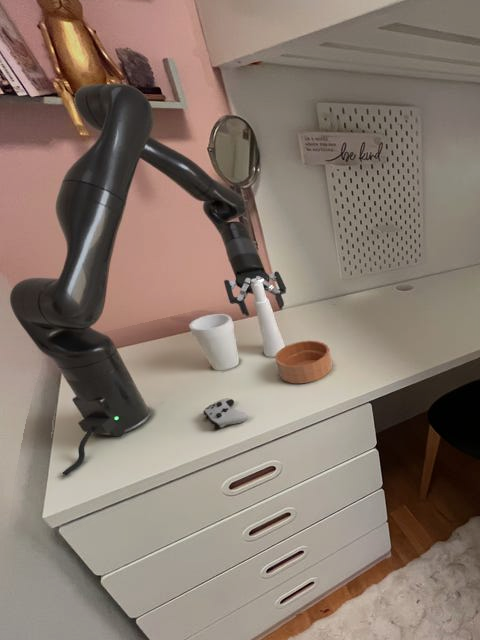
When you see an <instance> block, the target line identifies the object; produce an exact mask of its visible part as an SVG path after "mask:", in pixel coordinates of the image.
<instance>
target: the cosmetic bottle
mask: <svg viewBox="0 0 480 640" xmlns="http://www.w3.org/2000/svg"><path fill="white" fill-rule="evenodd" d="M260 281H261V280H260V279H258V278H256V279H252V280H251V282H252V283H251V287H252V291H253V294H252V295H253V297H254V301H253V303H254V308H255V313H256V316H257V320H258V324H259V327H260V334H261V339H262V345H263V353H264V356H265V357H270V358H275V356H276V354H277V352H279V351H280V350H281V349H282V348H284V347H286V346H287V345H286V344H285V342H284V339H283V337H282V334H281V331H280V328H279V325H278V323H277V321H276V320H277V319H276V317H275V314H274V311H273V308H272V305H271V303H270V300H269V298H267V294H266V291H265V290H264V287H263V283H262V282H260Z"/></svg>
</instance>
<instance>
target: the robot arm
mask: <svg viewBox="0 0 480 640" xmlns="http://www.w3.org/2000/svg"><path fill="white" fill-rule="evenodd" d="M74 103H75V107H76V109H77V111H78V114H79V115H80V116H81V118H82V119H83V120H84V122H86V124H87V125H89V126H90V127H91V128H92V129H94V131H96V132H98V133H99V136H98V138H97V139H96V140H95V142H94V143H93V145H91V146H90V148H88V150H86V151H85V152H84V153H83V154H82V155H81V156H80V157H79V158H78V159H77V160H76V161H75V162H74V163H73V164H72V165H71V167H69V169H68V170H67V172H66V173H65V175H64V176H63V179H62V181H61V184H60V186H59V190H58V193H57V196H56V202H55V214H56V215H55V216H56V218H57V221H58V224H59V226H60V229H61V232H62V234H63V236H64V240H65V243H66V256H65V261H64V264H63V268H62V270H61V273H60V274H59V277H58V278H55V277H53V278H52V277H29V278H26V279H23V280H20V281H19V282H17V283H15V284H14V286H13V288H12V289H11V291H10V293H9V294H10V295H9V303H10V308H11V310H12V312H13V314H14V317H15V318H16V319H17V322H18V323H19V324H20V325H21V327H22V328H23V330H24V331H25V332H26V334H27V335H28V336H29V338H30V339H31V340H32V342H33V343H34V344H35V346H36V347H37V349H39V351H40V352H42V354H44V355H45V356H46V357H48V358H50V359H51V360H52V361H53V362H54V364H55V366H56V367H57V368H58V370H59V372H60V373H61V375H62V376H63V377H64V379H65V381H66V382H67V384H68V386H69V387H70V389H71V390H72V392H73V394H74V395H75V396H74V397H73V398H72V402H73V404H74V405H75V406H76V409H77V410H78V412H79V413H80V414H81V416H82V417H83V418H82V419H81V420H80V421H78V422H77V424H78V425H79V427H80V428H81V430H82V432H84V433H85V434H84V436H83V437H82V439H81V441H80V443H79V445H78V448H77V449H78V458H77V460H76V461H75V462H74V463H73V464H72V465H70V466H69V467H67V468H66V469H65V470H64V471H62V475H64V476H68V475H69V474H70V473H71V472H73V471H75V470H76V469H77V468H78V467H79V466H81V464H82V463H83V461H84V459H85V457H86V452H85V448H86V444H87V442H88V440H89V439H90V438H91V436H92V435H93V434H94V435H97V436H98V435H100V436H110V437H111V436H112V437H122V436H123V435H125V434H127V433H129V432H131V431H133V430H135V429H137V428H139V427H141V426H143V425H144V424H145V423H146V422H147V421H148V420H149V419H150V418H151V415H152V412H151V410H150V408H149V407H148V405H147V403H146V401H145V399H144V398H143V396H142V394H141V393H140V390H139V389H138V386H137V384H136V383H135V381H134V379H133V377H132V375H131V374H130V371H129V370H128V367H127V366H126V364H125V362H124V360H123V358H122V357H121V354H120V352H119V350H118V349H117V347H116V345H115V342H114V341H113V339H112V338H111V337H110V336H109V335H107V334H106V333H103V332H100V331H98V330H96V329H94V328H92V326H94V325H95V324H96V323H97V322H98V321H99V320H100V318H101V316H102V314H103V312H104V308H105V304H106V299H107V291H108V282H109V274H110V267H111V263H112V262H111V261H112V258H113V253H114V249H115V245H116V240H117V236H118V233H119V229H120V226H121V224H122V221H123V218H124V213H125V210H126V207H127V203H128V198H129V197H128V196H129V194H130V189H131V186H132V183H133V180H134V177H135V173H136V170H137V167H138V164H139V161H140V160H143V162H145V163H147V164H148V165H151V167H153V168H155V169H156V170H157V171H159V172H160V173H162V174H163V175H165V176H166V177H167V178H168V179H170V180H171V181H172V182H173V183H175V184H176V185H177V186H178V187H180V189H182V190H183V191H185V192H186V193H187V194H188V195H189V196H190V197H192V198H193V199H195V200H196V201H199V202H203V203H202V210H203V212H204V214H205V216H206V217H207V218H208V220H209V221H210V222H211V224H212V225H213V226H214V227H215V229H216V231H217V232H218V233H219V235H220V237H221V240H222V243H223V245H224V248H225V252H226V256H227V259H228V260H227V261H228V262H229V264H230V266H231V270H232V272H233V274H234V277H235V280H229V279H225V280H223V284H224V287H225V291H226V295H227V298H228V302H229V303H230V305H234V304H236V305H238V306H239V309H240V311H241V314H242V315H245V316H246V317H249V316H250V313H249V310H248V308H247V305H246V302H245V300H246V299H247V297H248V294H250V295H254V294H253V291H252V287H251V283H252V282H251V280H252V279H256V278H258V279H260V280H261V281H260V282H262V283H263V287H264V290H265V292H267V293H269V294H271V295H273V296H274V297H275V301H276V303H277V306H278V309H279V310H282V309H284V308H283V307H284V306H285V301H284V299H283V295H285V294H286V293H287V287H286V285H285V283H284V280H283V278H282V277H281V274H280V272H279V271H277V270H276V271H274V273H270V274H269V273H267V272H266V269H265V267H264V265H263V261H262V259H261V257H260V253H259V252H258V249H257V247H256V245H255V243H254V241H253V239H252V237H251V234H250V231H249V228H248V227H247V225H246V224H244V223H243V222H241V221H234V220H235V219H238V218H240V217H242V216H244V215H245V214H247V213H246V212H247V208H248V207H247V204H246V201H245V200H244V199H243V197H242V196H241V195H240V194H239V193H238V192H236V191H235V190H234V189H231V188H230V187H228V186H226V185H225V184H223V183H221V182H219V181H217V180H216V179H214V178H213V177H211V176H210V175H209V174H208V173H207V172H206V171H205V170H204V169H203V168H202V167H201V166H199V165H198V164H197V163H196V162H194V161H193V160H192V159H191V158H189V157H187V156H186V155H184V154H182V153H181V152H179V151H177V150H176V149H173V148H171V147H169V146H168V145H165V144H164V143H162V142H160V141H159V140H157V139H155V138H154V137H152V136H151V134H152V132H153V129H154V124H155V117H154V116H155V115H154V111H153V108H152V105H151V103H150V101H149V99H148V98H147V96H146V95H145V94H144V93H143V91H140V90H139V89H138V88H136V87H135V86H133V85H129V84H125V83H117V82H116V83H100V84H99V83H98V84H97V83H95V84H88V85H84V86H81V87H78V89H77V90H76V92H75V93H74ZM271 280H272V281H273V282H275V283H276V284H277V287H278V288H277V287H276V286H274V284H272V283H270V281H271ZM235 286H236V287H238V288H240V291H239V294H238V295H237V296H235V295H234V293H233V290H234V289H235Z"/></svg>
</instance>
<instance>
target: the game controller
mask: <svg viewBox="0 0 480 640" xmlns="http://www.w3.org/2000/svg"><path fill="white" fill-rule="evenodd" d="M234 404H235V401H234V399H233V398H230V397H228V398H227V397H226V398H222V399H220V400H217V401H215V402H213V403H212V404H210V405H208V406H207V407H205V408H204V410H203V412H202V413H203V415H204V416H205V418H206V419H209V422H210V423H211V424H212V425H214V429H215V430H218V429H222V428H224V427H225V426H228V425H233V424H234V425H235V424H241V423H243V422H246V421H247V420H248V417H249V416H248V414H247V413H245V412H244V411H240V410H236V409H233V408H232V407H233V405H234Z"/></svg>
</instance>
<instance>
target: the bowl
mask: <svg viewBox="0 0 480 640" xmlns="http://www.w3.org/2000/svg"><path fill="white" fill-rule="evenodd" d="M285 346H286V347H284V348H282V349H281V350H280V351H279V352H277V354H276V356H275V357H274V359H275V363H276V366H277V369H278V373H279V378H280V379H282V380H283V381H284V382H287V383H291V384H307V383H311V382H314V381H318V380H320V379H323V378H324V377H325V376H326V375H328V374H329V373H330V372H331V371H332V368H333V361H332V357H331V351H330V348H329V346H328V345H327V344H326V343H324V342H321V341H317V340H303V341H297V342H294V343H291V344H288V345H285Z"/></svg>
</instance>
